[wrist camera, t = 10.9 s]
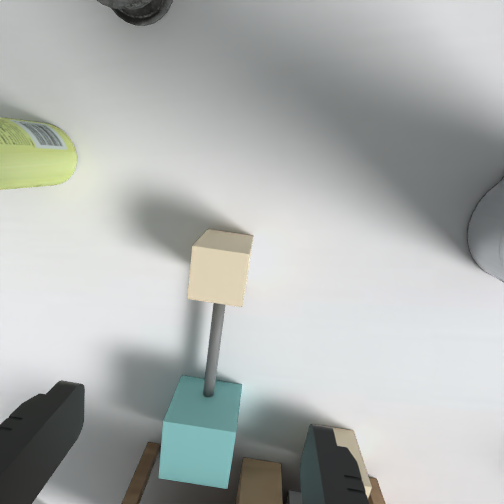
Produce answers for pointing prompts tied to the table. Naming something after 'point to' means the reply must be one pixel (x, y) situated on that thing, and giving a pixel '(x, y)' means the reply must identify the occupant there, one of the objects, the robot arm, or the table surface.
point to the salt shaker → (139, 10)
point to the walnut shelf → (250, 483)
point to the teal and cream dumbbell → (208, 371)
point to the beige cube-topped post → (349, 440)
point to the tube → (34, 154)
